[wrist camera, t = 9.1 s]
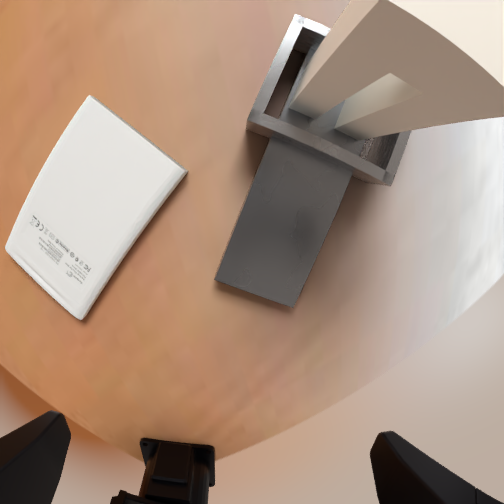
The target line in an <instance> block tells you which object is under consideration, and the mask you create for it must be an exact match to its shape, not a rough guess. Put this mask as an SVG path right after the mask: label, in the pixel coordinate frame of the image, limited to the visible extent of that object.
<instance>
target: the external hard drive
mask: <svg viewBox="0 0 504 504" xmlns="http://www.w3.org/2000/svg"><path fill="white" fill-rule="evenodd" d="M187 172H188V171H187V170H186V169H185V168H184V167H182V166H181V165H180V164H179V163H177V162H176V161H175V160H174V159H172V158H171V157H170V156H169V155H167V154H166V153H165V152H164V151H162V150H161V149H160V148H159V147H157V146H156V145H155V144H154V143H152V142H151V141H150V140H148V139H147V138H146V137H145V136H143V135H142V134H141V133H140V132H138V131H137V130H136V129H135V128H133V127H132V126H131V125H129V124H128V123H127V122H126V121H124V120H123V119H122V118H121V117H119V116H118V115H117V114H115V113H114V112H113V111H112V110H110V109H109V108H108V107H107V106H105V105H104V104H103V103H101V102H100V101H99V100H98V99H96V98H95V97H93V96H90V95H89V96H88V97H87V98H86V100H85V101H84V103H83V104H82V105H81V107H80V108H79V110H78V111H77V113H76V114H75V116H74V117H73V119H72V120H71V122H70V123H69V125H68V126H67V128H66V129H65V131H64V132H63V134H62V135H61V137H60V139H59V140H58V142H57V144H56V145H55V147H54V149H53V150H52V152H51V154H50V155H49V157H48V159H47V161H46V162H45V164H44V166H43V168H42V170H41V171H40V173H39V175H38V177H37V179H36V181H35V182H34V184H33V186H32V188H31V190H30V192H29V194H28V196H27V198H26V200H25V203H24V205H23V207H22V209H21V211H20V213H19V216H18V218H17V220H16V222H15V224H14V227H13V229H12V232H11V234H10V236H9V239H8V241H7V244H6V246H5V249H6V251H7V253H8V254H9V255H10V256H11V257H12V258H13V259H14V260H15V261H16V262H17V263H18V264H19V265H20V266H21V267H22V268H23V269H24V270H25V271H26V272H27V273H28V274H29V275H30V276H31V277H32V278H33V279H34V280H35V281H36V282H37V283H38V284H39V285H40V286H41V287H42V288H43V289H44V290H46V291H47V292H48V293H49V294H50V295H51V296H52V297H53V298H54V299H55V300H56V301H57V302H59V303H60V304H61V305H62V306H63V307H64V308H65V309H66V310H67V311H69V312H70V313H71V314H72V315H73V316H75V317H76V318H78V319H80V320H82V319H83V318H84V317H85V316H86V315H87V313H88V312H89V310H90V309H91V307H92V305H93V304H94V302H95V301H96V299H97V298H98V296H99V295H100V293H101V291H102V290H103V288H104V287H105V285H106V284H107V282H108V281H109V279H110V278H111V276H112V275H113V273H114V272H115V270H116V269H117V267H118V266H119V264H120V263H121V261H122V260H123V259H124V257H125V256H126V254H127V253H128V251H129V250H130V248H131V247H132V246H133V244H134V243H135V241H136V240H137V238H138V237H139V236H140V234H141V233H142V231H143V230H144V229H145V227H146V226H147V225H148V223H149V222H150V221H151V219H152V218H153V216H154V215H155V214H156V212H157V211H158V210H159V208H160V207H161V206H162V204H163V203H164V202H165V200H166V199H167V198H168V197H169V195H170V194H171V193H172V191H173V190H174V189H175V188H176V186H177V185H178V184H179V182H180V181H181V180H182V179H183V177H184V176H185V175H186V174H187Z"/></svg>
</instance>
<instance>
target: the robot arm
mask: <svg viewBox="0 0 504 504" xmlns="http://www.w3.org/2000/svg"><path fill="white" fill-rule="evenodd" d="M70 439H71V433H70V430H69V427H68V425H67V422H66V419H65V417H64V415H63V414H62V413H59V412H56V411H52V410H51V411H48V412H46V413H44V414H43V415H41V416H39V417H37V418H36V419H34V420H32V421H30V422H29V423H27V424H25V425H23V426H22V427H20V428H18V429H16V430H14V431H12V432H11V433H9V434H7V435H5V436H3V437H1V438H0V504H51V502H52V499H53V497H54V494H55V491H56V488H57V486H58V483H59V480H60V477H61V474H62V470H63V465H64V462H65V458H66V454H67V450H68V446H69V443H70ZM140 447H141V451H142V455H143V459H144V462H145V466H146V469H145V473H144V476H143V481H142V485H141V488H140V492H139V496H136V495H133V494H130V493H127V492H126V491H123V490H120V492H119V494H118V496H115V497H112V499H111V502H110V504H208V491H209V487H212V486H214V485H215V449H214V447H213V446H210V445H200V444H189V443H179V442H171V441H163V440H156V439H149V438H142V439H141V440H140ZM370 458H371V463H372V469H373V474H374V480H375V485H376V491H377V496H378V500H379V503H380V504H504V503H502V502H500V501H498V500H496V499H494V498H493V497H491V496H489V495H487V494H485V493H484V492H482V491H481V490H479V489H478V488H476V489H475V487H474V486H472V485H471V484H470V483H468V482H466V481H465V480H463V479H462V478H460V477H459V476H457V475H456V474H454V473H453V472H451V471H450V470H448V469H447V468H445V467H444V466H442V465H441V464H439V463H438V462H436V461H435V460H433V459H432V458H430V457H429V456H428V455H426V454H425V453H423V452H422V451H420V450H419V449H418V448H416V447H415V446H413V445H412V444H410V443H409V442H408V441H406V440H405V439H403V438H402V437H401V436H399V435H398V434H396V433H395V432H393V431H387V432H381V433H379V434H378V436H377V438H376V440H375V442H374V444H373V446H372V448H371V451H370Z"/></svg>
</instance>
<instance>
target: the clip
mask: <svg viewBox="0 0 504 504" xmlns="http://www.w3.org/2000/svg"><path fill="white" fill-rule="evenodd" d="M344 100H345V103H344V105H343V108H342V110H341V113H340V115H339V118H338V120H337V123H336V125H335V128H334V129H336V130H338V131H340V132H342V133H344V134H346V135H348V136H350V137H352V138H354V139H356V140H358V141H360V140H365V139H369V138H374V137H379V136H384V135H389V134H394V133H399V132H404V131H409V130H415V129H421V128H426V127H432V126H438V125H444V124H451V123H458V122H464V121H472V120H479V119H487V118H496V117H504V0H351V1H350V2H349V4H348V5H347V7H346V8H345V10H344V11H343V12H342V14H341V15H340V17H339V18H338V19H337V21H336V22H335V24H334V25H333V27H332V28H331V30H330V31H329V32H328V34H327V35H326V37H325V38H324V40H323V41H322V43H321V44H320V46H319V47H318V49H317V50H316V52H315V53H314V55H313V56H312V58H311V59H310V61H309V62H308V64H307V66H306V68H305V70H304V73H303V75H302V77H301V80H300V82H299V84H298V87H297V89H296V91H295V94H294V96H293V98H292V101H291V103H290V105H289V108H290V109H293V110H295V111H297V112H300V113H302V114H304V115H306V116H309V117H311V118H313V119H316V118H318V117H319V116H321V115H322V114H324V113H326V112H327V111H329V110H330V109H332V108H333V107H335V106H336V105H338V104H340V103H341V102H343V101H344Z"/></svg>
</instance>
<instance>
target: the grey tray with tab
mask: <svg viewBox="0 0 504 504" xmlns="http://www.w3.org/2000/svg"><path fill="white" fill-rule="evenodd" d="M330 30H331V29H330V28H328V27H325V26H323V25H321V24H319V23H316V22H314V21H312V20H309V19H307V18H304V17H302V16H299V15H297V14H295V16H294V18H293V20H292V22H291V24H290V26H289V29H288V31H287V33H286V35H285V37H284V39H283V41H282V43H281V45H280V47H279V50H278V52H277V54H276V56H275V58H274V60H273V63H272V65H271V67H270V69H269V71H268V74H267V76H266V78H265V80H264V82H263V85H262V87H261V89H260V91H259V94H258V96H257V98H256V101H255V103H254V105H253V107H252V110H251V112H250V114H249V117H248V119H247V125H246V129H247V130H250V131H252V132H255V133H257V134H260V135H262V136H265V137H267V138H270V140H269V142H268V144H267V147H266V149H265V152H264V154H263V157H262V159H261V161H260V164H259V166H258V169H257V171H256V174H255V176H254V178H253V181H252V183H251V186H250V188H249V191H248V193H247V196H246V198H245V201H244V203H243V206H242V208H241V211H240V213H239V216H238V218H237V221H236V223H235V226H234V228H233V231H232V233H231V236H230V238H229V241H228V243H227V246H226V249H225V251H224V254H223V256H222V259H221V261H220V264H219V267H218V269H217V272H216V275H215V280H217V281H219V282H222V283H225V284H227V285H230V286H233V287H236V288H238V289H241V290H244V291H247V292H249V293H252V294H255V295H258V296H261V297H263V298H266V299H269V300H272V301H275V302H278V303H280V304H283V305H286V306H289V307H292V308H293V307H294V305H295V303H296V301H297V299H298V297H299V294H300V292H301V290H302V288H303V286H304V284H305V282H306V280H307V277H308V275H309V273H310V271H311V269H312V267H313V264H314V262H315V260H316V258H317V256H318V253H319V251H320V249H321V247H322V244H323V242H324V240H325V238H326V235H327V233H328V231H329V228H330V226H331V224H332V222H333V219H334V217H335V215H336V212H337V210H338V207H339V205H340V203H341V200H342V198H343V196H344V193H345V191H346V188H347V186H348V183H349V181H350V179H351V176H354V177H356V178H358V179H360V180H362V181H364V182H366V183H372V184H380V185H387V186H391V184H392V182H393V179H394V176H395V174H396V171H397V169H398V166H399V163H400V161H401V158H402V155H403V152H404V150H405V147H406V144H407V141H408V138H409V135H410V132H411V130H409V131H404V132H399V133H394V134H389V135H384V136H379V137H375V138H374V141H373V144H372V146H371V149H370V151H369V154H368V157H367V159H366V160H365V159H363V158H361V157H359V156H360V154H361V151H362V148H363V146H364V143H365V141H366V139H365V140H360V141H358V140H356V139H354V138H352V137H350V136H348V135H346V134H344V133H342V132H340V131H338V130H336V129H334V128H335V125H336V123H337V120H338V118H339V115H340V113H341V110H342V108H343V105H344V103H345V100H344V101H343V102H341V103H340V104H338V105H336V106H335V107H333V108H332V109H330V110H329V111H327V112H326V113H324V114H322V115H321V116H319V117H318V118H316V119H313V118H311V117H309V116H306V115H304V114H302V113H300V112H297V111H295V110H293V109H290V108H289V105H290V103H291V101H292V98H293V96H294V94H295V91H296V89H297V87H298V84H299V82H300V80H301V77H302V75H303V73H304V70H305V68H306V66H307V64H308V62H309V61H310V59H311V58H312V56H313V55H314V53H315V52H316V50H317V49H318V47H319V46H320V44H321V43H322V41H323V40H324V38H325V37H326V35H327V34H328V32H329V31H330ZM292 49H295V50H297V51H300V52H302V53H304V54H306V56H305V58H304V60H303V62H302V65H301V67H300V69H299V72H298V74H297V76H296V79H295V81H294V83H293V85H292V88H291V90H290V92H289V95H288V97H287V99H286V102H285V104H284V106H283V109H282V111H281V114H280V116H279V118H278V119H276V118H274V117H272V116H269V115H267V114H264V112H265V109H266V107H267V105H268V102H269V100H270V98H271V95H272V93H273V91H274V89H275V86H276V84H277V82H278V79H279V77H280V75H281V73H282V70H283V68H284V66H285V64H286V62H287V59H288V57H289V55H290V53H291V51H292Z"/></svg>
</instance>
